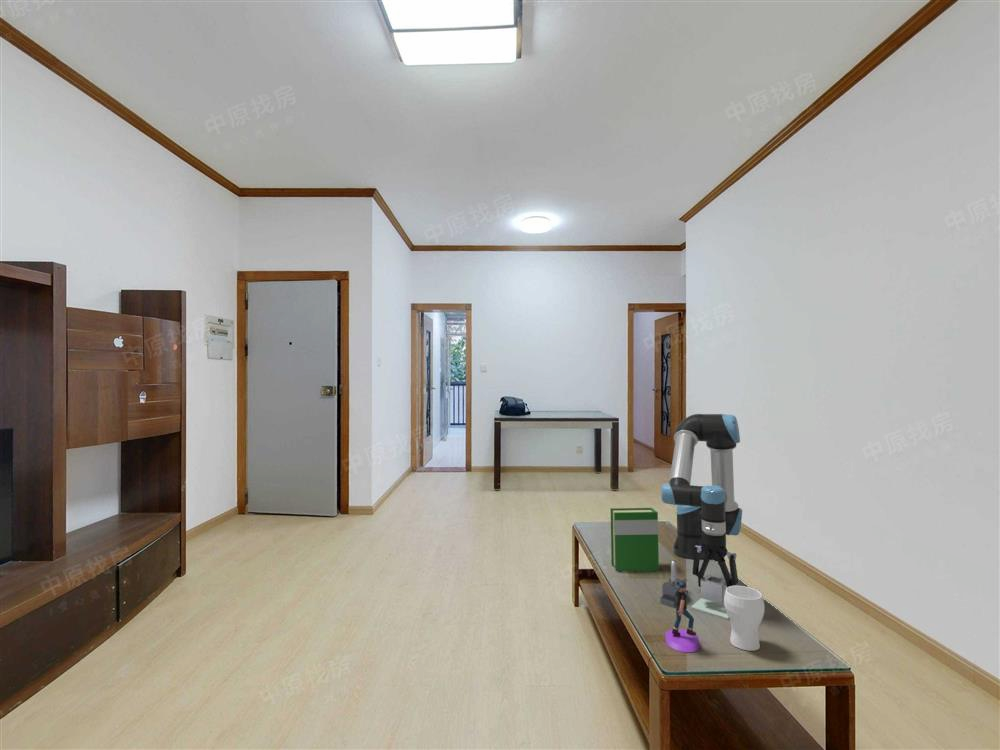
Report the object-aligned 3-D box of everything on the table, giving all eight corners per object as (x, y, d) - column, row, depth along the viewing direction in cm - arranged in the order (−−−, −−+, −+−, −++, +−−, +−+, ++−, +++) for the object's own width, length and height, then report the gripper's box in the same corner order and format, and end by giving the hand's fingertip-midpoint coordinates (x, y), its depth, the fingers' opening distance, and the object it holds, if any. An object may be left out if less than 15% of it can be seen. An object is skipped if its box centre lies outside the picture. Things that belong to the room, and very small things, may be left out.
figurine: (706, 649, 139) (704, 586, 139) (677, 654, 137) (675, 590, 137) (687, 633, 148) (685, 574, 148) (659, 637, 146) (658, 577, 146)
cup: (717, 635, 146) (716, 585, 147) (751, 633, 147) (749, 584, 147) (738, 655, 136) (736, 601, 136) (773, 652, 137) (772, 599, 137)
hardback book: (615, 571, 197) (614, 512, 197) (611, 565, 204) (610, 508, 205) (658, 571, 197) (657, 512, 198) (653, 564, 204) (651, 507, 205)
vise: (678, 589, 180) (678, 552, 180) (692, 593, 176) (691, 555, 176) (660, 603, 168) (659, 564, 169) (674, 607, 165) (673, 567, 165)
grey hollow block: (708, 591, 169) (708, 574, 169) (729, 597, 164) (729, 579, 164) (700, 597, 164) (700, 580, 164) (722, 604, 159) (721, 585, 159)
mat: (704, 597, 173) (704, 595, 173) (740, 607, 164) (739, 605, 164) (690, 608, 164) (690, 606, 164) (727, 620, 156) (727, 618, 156)
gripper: (680, 529, 169) (682, 595, 168) (741, 541, 155) (743, 613, 155) (689, 524, 174) (690, 588, 174) (748, 535, 161) (750, 605, 160)
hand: (715, 600), depth 164 cm, fingers closed on grey hollow block, 7 cm apart
